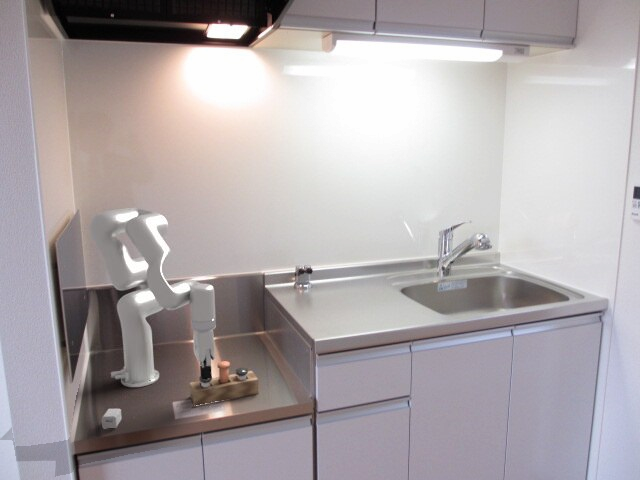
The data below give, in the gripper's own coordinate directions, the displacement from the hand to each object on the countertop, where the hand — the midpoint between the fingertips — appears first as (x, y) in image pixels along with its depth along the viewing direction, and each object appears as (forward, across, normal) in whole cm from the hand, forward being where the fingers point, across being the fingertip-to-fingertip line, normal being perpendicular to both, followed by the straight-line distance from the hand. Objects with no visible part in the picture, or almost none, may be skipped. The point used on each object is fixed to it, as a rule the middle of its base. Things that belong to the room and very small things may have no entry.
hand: (206, 377), depth 164 cm
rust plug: (+3, 0, +6) cm, 7 cm away
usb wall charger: (+8, +2, -28) cm, 29 cm away
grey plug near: (+7, 0, 0) cm, 7 cm away
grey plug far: (+7, 0, +12) cm, 14 cm away
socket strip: (+8, 0, +6) cm, 10 cm away
